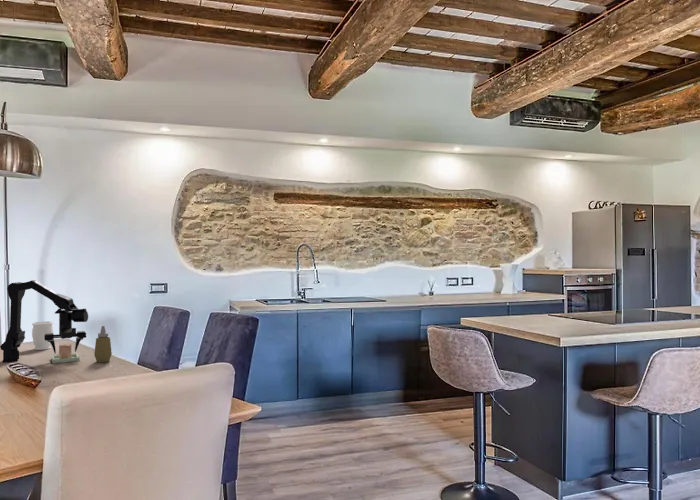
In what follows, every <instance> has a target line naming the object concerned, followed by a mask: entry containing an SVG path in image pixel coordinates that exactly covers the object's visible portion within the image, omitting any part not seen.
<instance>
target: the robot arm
mask: <svg viewBox="0 0 700 500" xmlns="http://www.w3.org/2000/svg"><path fill="white" fill-rule="evenodd" d="M6 289H7V295H8V298H9V299H10V307H9V308H10V314H9V329H8V331H7V333H6V335H5V340H4V342H3V343H1V345H0V351H2V363H8V361H11V362H19V359H20V350H19V348H20V347H21V345H22V344H23V343H24V340H25V339H26V337H25V336H26V330H22V327H21V325H22V301H23V298H24V296H25V293H26V290H27V291H28V290H31V289H32V290H34V291H35V292H37V293H39V294H40V295H42V296H44V297H46V299H49V300H50V301H52V302H53V303H54V305H55V306H56V307H58V309H57V310H56V311H54V314H56V315H57V314H58V317H59V318H58V321H59V323H58V334H57V333H56V334H55V333H54V332H53V333H49V334H45V335H44V340H45V341H48V342H50V343H51V344H50V346H51V348H52V350H53V352H54V355H56V345H55V339H62V340H64V339H71V338H73V337H74V338H75V345H74V352H75V353H76V352H77V350H78V347H79V345H80V342H81V341H82V340H84V339H85V338H87V333H86V331H85V330H81V331H77V327H72V326H73V323H86V322H88V320H89V312H88V310H87V308H78V306H76V304H75V302H74V300H73V298H72V297H69V296H67V295H64V294H60V293H58V292H56V291H54V290H53V289H51V288H50V287H48V286H46V285H45V284H43V283H41V282H40V281H39V280H36V279H35V280H33V279H31V280H30V281H26V282H21V281H19V282H11V283H9V284H8V285H7V288H6Z"/></svg>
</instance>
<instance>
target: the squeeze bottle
mask: <svg viewBox="0 0 700 500" xmlns="http://www.w3.org/2000/svg"><path fill="white" fill-rule="evenodd" d="M111 344H112V343H111V337H110V336H109V332H106V328H105V325H102V326H101V328H100V332H99V333H97V337H96V338H95V344H94V345H95V347H94V358H95V361H96V363H101V364H102V362H103V363H108V362H110V360H111V357H112V353H113V352H112V346H111Z"/></svg>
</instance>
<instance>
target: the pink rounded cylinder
mask: <svg viewBox="0 0 700 500" xmlns="http://www.w3.org/2000/svg"><path fill="white" fill-rule="evenodd" d="M72 347H73V346H72V343H71V344H70V343H67V344H59V345H58V355H59V359H63V358H71V354H72V351H73V349H72Z"/></svg>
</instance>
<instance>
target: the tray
mask: <svg viewBox="0 0 700 500" xmlns="http://www.w3.org/2000/svg"><path fill="white" fill-rule="evenodd" d="M80 360H81V359H80V356H79V354H78V353H71V358H63V359H59V354H58V355H56V354H54V355H51V362H52V364H61V363H70V362H72V363H73V362H80Z"/></svg>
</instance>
